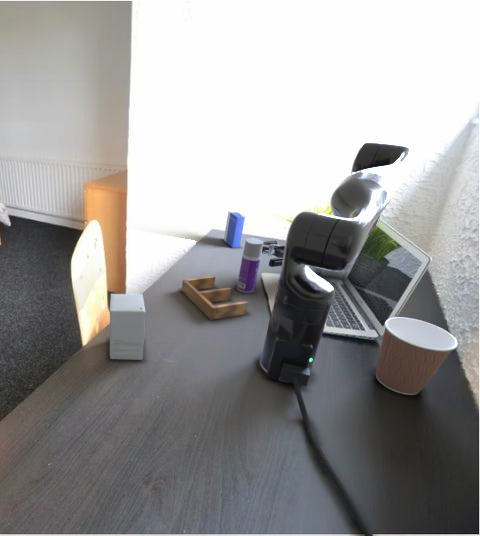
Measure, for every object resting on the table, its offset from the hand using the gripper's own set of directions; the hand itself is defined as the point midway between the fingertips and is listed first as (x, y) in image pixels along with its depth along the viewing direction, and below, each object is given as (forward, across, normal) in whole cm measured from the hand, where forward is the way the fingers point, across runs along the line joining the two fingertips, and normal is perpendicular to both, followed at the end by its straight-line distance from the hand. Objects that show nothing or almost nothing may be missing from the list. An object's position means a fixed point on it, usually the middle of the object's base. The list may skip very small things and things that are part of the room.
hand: (259, 256), depth 105 cm
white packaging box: (+46, +18, +10) cm, 50 cm away
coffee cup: (-2, +41, +10) cm, 42 cm away
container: (+3, 0, +10) cm, 10 cm away
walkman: (-14, -32, +10) cm, 36 cm away
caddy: (+16, +4, +10) cm, 19 cm away
